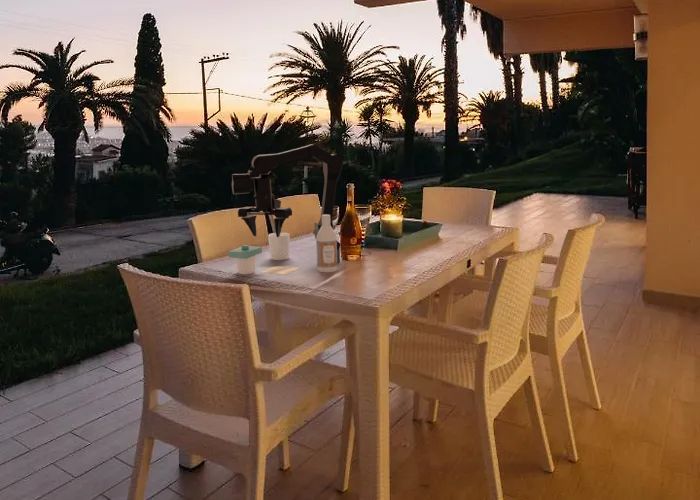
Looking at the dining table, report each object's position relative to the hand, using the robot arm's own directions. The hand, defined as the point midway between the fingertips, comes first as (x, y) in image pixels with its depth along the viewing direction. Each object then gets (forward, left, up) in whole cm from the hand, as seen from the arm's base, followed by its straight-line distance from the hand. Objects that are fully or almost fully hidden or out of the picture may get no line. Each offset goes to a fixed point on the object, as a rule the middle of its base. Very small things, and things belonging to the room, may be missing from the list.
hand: (266, 236), depth 210 cm
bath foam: (-22, -3, -12) cm, 25 cm away
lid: (+3, +9, -5) cm, 10 cm away
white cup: (+3, -14, -12) cm, 19 cm away
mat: (-7, +3, -12) cm, 14 cm away
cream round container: (+3, +9, -12) cm, 15 cm away
